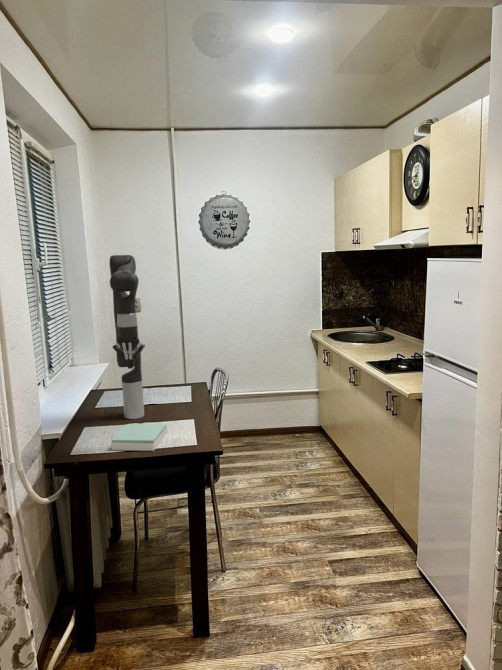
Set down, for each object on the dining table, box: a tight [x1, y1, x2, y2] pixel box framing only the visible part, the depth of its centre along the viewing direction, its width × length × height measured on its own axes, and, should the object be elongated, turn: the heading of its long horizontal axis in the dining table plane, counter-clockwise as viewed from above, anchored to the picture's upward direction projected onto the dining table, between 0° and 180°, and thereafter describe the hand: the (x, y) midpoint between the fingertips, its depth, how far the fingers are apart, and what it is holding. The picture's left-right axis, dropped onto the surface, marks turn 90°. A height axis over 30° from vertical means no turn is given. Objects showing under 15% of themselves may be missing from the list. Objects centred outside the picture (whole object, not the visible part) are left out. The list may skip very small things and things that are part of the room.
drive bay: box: [110, 425, 168, 452], centre depth 198 cm, size 19×17×3 cm
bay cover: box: [110, 423, 168, 443], centre depth 197 cm, size 18×17×1 cm
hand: (130, 368), depth 191 cm, fingers closed
